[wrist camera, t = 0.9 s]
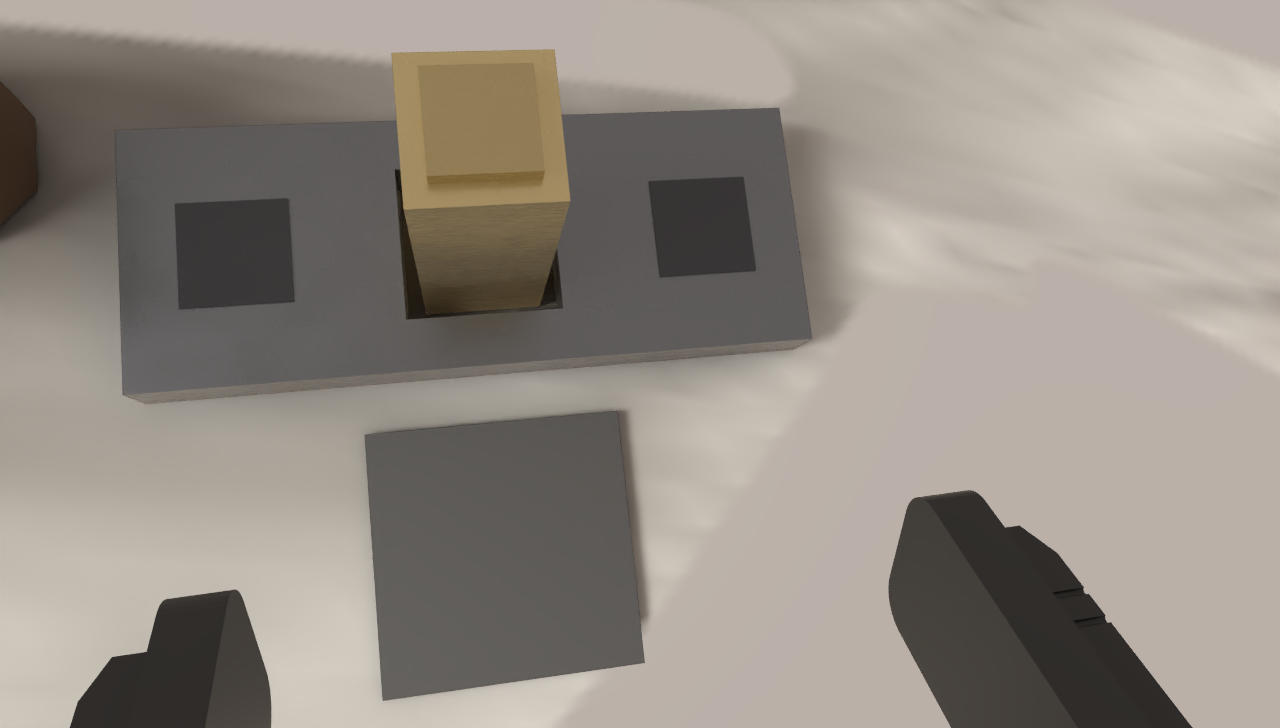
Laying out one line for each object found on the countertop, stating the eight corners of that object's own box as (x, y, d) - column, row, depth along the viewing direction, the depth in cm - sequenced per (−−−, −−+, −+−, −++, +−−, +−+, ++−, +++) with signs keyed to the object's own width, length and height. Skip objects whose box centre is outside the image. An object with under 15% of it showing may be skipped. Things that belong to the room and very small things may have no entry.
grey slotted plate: (145, 403, 36) (121, 394, 34) (137, 154, 38) (113, 128, 35) (792, 349, 41) (812, 337, 39) (762, 131, 42) (779, 106, 40)
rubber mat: (383, 698, 36) (382, 701, 35) (365, 435, 37) (364, 434, 37) (643, 661, 38) (644, 662, 37) (615, 412, 39) (617, 411, 39)
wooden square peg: (426, 314, 39) (402, 202, 25) (417, 206, 39) (389, 42, 26) (539, 306, 39) (572, 193, 26) (529, 200, 40) (556, 38, 27)
